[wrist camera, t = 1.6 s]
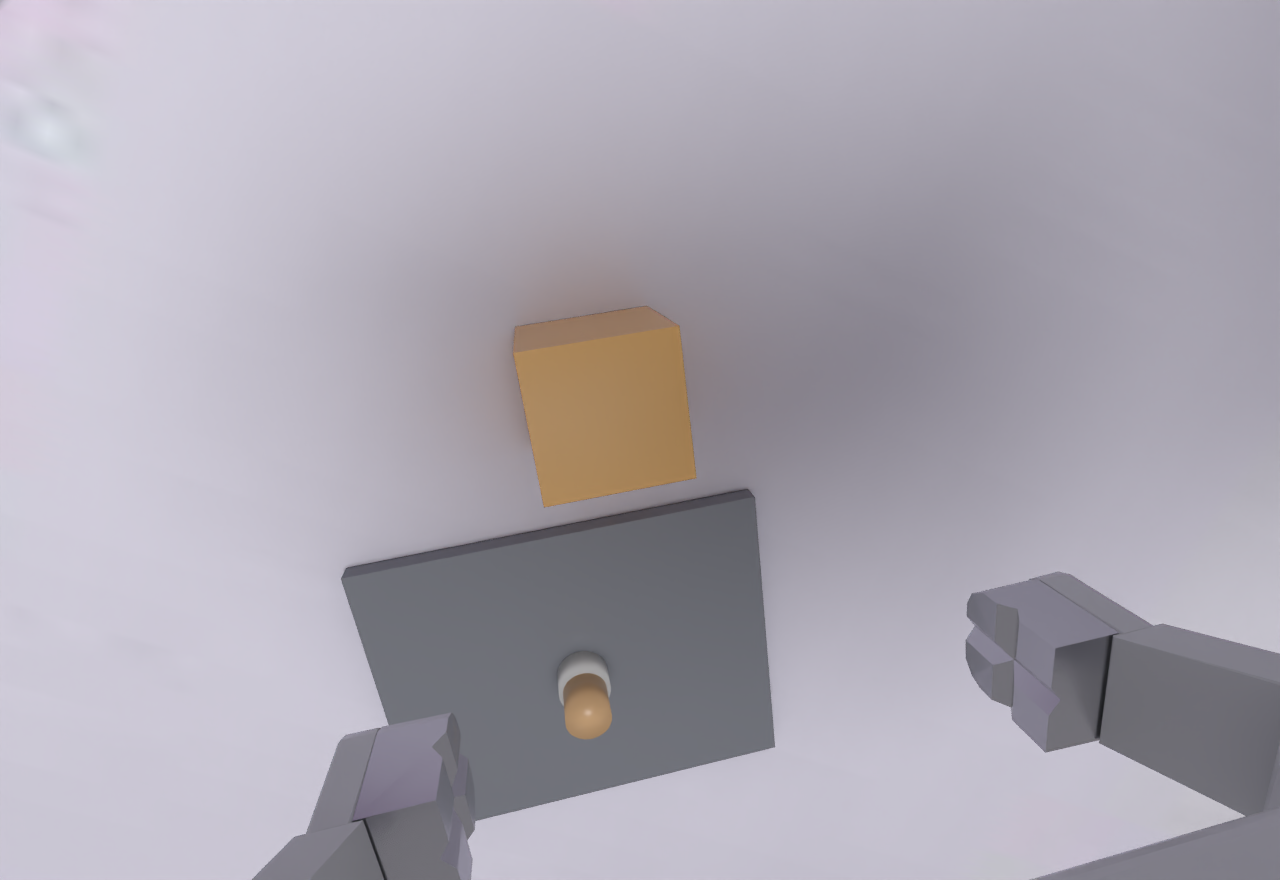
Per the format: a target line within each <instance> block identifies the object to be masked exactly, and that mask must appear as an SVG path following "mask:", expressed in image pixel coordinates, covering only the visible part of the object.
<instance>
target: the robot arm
mask: <svg viewBox="0 0 1280 880" xmlns="http://www.w3.org/2000/svg"><path fill="white" fill-rule="evenodd" d="M967 617H968V618H969V619H970V621H971V622H972V623H973V624H974V625H975V627H974V628H973V630H972V631H971V633H970V634H969V636H968V637H967V639H966V660H967V663H968V666H969V668H970V671H971V674H972V676H973V678H974V679H975V681H976V682H977V684H978V685H979V687H980V688H981V689H982V690H983V691H984V692H985V693H986V694H987V695H988V696H989V698H990V699H992V700H994V701H997V702H999V703H1002V704H1004V705H1007V706H1009V707H1011V714H1012V720H1013V721H1014V722H1015V723H1016V724H1017V725H1018V726H1019V727H1020V728H1021V729H1022V730H1023V731H1024V732H1025V733H1026V734H1027V735H1028V736H1029V737H1030V738H1031V739H1032V740H1033V741H1034V742H1035V743H1036V744H1037V745H1038V746H1039V747H1040V748H1041V749H1042V750H1043V751H1044V752H1045V753H1046V752H1050V751H1054V750H1059V749H1063V748H1067V747H1071V746H1076V745H1080V744H1084V743H1089V742H1093V741H1097V740H1100V741H1099V743H1100V744H1102V745H1104V746H1106V747H1108V748H1110V749H1112V750H1114V751H1116V752H1118V753H1120V754H1122V755H1124V756H1126V757H1128V758H1130V759H1132V760H1134V761H1136V762H1138V763H1140V764H1142V765H1144V766H1146V767H1148V768H1150V769H1152V770H1154V771H1156V772H1159V773H1161V774H1163V775H1165V776H1167V777H1169V778H1171V779H1173V780H1175V781H1177V782H1179V783H1181V784H1183V785H1185V786H1187V787H1189V788H1191V789H1193V790H1195V791H1197V792H1199V793H1201V794H1203V795H1205V796H1207V797H1209V798H1211V799H1213V800H1215V801H1217V802H1219V803H1221V804H1223V805H1225V806H1227V807H1229V808H1231V809H1233V810H1235V811H1237V812H1239V813H1241V814H1243V815H1245V816H1246V817H1242V818H1239V819H1235V820H1232V821H1229V822H1225V823H1222V824H1218V825H1215V826H1211V827H1208V828H1205V829H1201V830H1198V831H1194V832H1191V833H1188V834H1184V835H1181V836H1177V837H1174V838H1171V839H1167V840H1164V841H1160V842H1157V843H1154V844H1150V845H1147V846H1143V847H1140V848H1137V849H1133V850H1130V851H1126V852H1123V853H1120V854H1116V855H1113V856H1109V857H1106V858H1103V859H1099V860H1096V861H1092V862H1089V863H1086V864H1082V865H1079V866H1075V867H1072V868H1069V869H1065V870H1062V871H1058V872H1055V873H1052V874H1048V875H1045V876H1041V877H1038V878H1035V879H1031V880H1280V654H1279V653H1275V652H1271V651H1267V650H1263V649H1259V648H1255V647H1251V646H1248V645H1244V644H1240V643H1236V642H1232V641H1228V640H1224V639H1220V638H1216V637H1212V636H1209V635H1205V634H1201V633H1197V632H1193V631H1189V630H1185V629H1181V628H1177V627H1173V626H1170V625H1166V624H1159V625H1155V626H1153V625H1151V624H1150V623H1148V622H1146V621H1145V620H1143V619H1142V618H1140V617H1138V616H1137V615H1135V614H1133V613H1132V612H1130V611H1129V610H1127V609H1125V608H1124V607H1122V606H1120V605H1119V604H1117V603H1116V602H1114V601H1112V600H1111V599H1109V598H1107V597H1106V596H1104V595H1103V594H1101V593H1099V592H1098V591H1096V590H1094V589H1093V588H1091V587H1090V586H1088V585H1086V584H1085V583H1083V582H1081V581H1080V580H1078V579H1077V578H1075V577H1073V576H1072V575H1070V574H1066V573H1062V572H1055V573H1051V574H1047V575H1043V576H1040V577H1036V578H1032V579H1029V580H1028V581H1023V582H1019V583H1015V584H1011V585H1006V586H1002V587H998V588H994V589H989V590H985V591H981V592H977V593H972V595H971V597H970V599H969V601H968V603H967ZM460 742H461V732H460V729H459V726H458V722H457V719H456V716H455V715H454V714H453V713H446V714H442V715H437V716H432V717H427V718H422V719H417V720H412V721H408V722H403V723H398V724H393V725H388V726H383V727H382V728H376V729H371V730H366V731H362V732H357V733H352V734H348V735H345V736H344V737H343V738H342V739H341V740H340V742H339V743H338V745H337V748H336V751H335V754H334V757H333V759H332V762H331V765H330V768H329V771H328V773H327V776H326V779H325V782H324V785H323V787H322V790H321V793H320V796H319V799H318V801H317V804H316V807H315V810H314V812H313V815H312V818H311V821H310V824H309V826H308V829H307V832H306V834H304V835H300V836H296V837H294V838H293V839H292V840H291V841H290V842H289V843H288V844H287V845H286V846H285V847H284V848H283V849H282V850H281V851H280V852H279V853H278V854H277V855H276V856H275V857H274V858H273V859H272V860H271V861H270V862H269V863H268V864H267V865H266V866H265V867H264V868H263V869H262V870H261V871H260V872H259V873H258V874H257V875H256V876H255V877H254V878H253V879H252V880H471V872H472V856H471V852H470V849H469V845H468V842H467V840H468V838H469V837H470V836H471V834H472V833H473V831H474V830H475V815H476V807H475V789H474V783H473V777H472V772H471V768H470V764H469V760H468V758H466V757H465V756H463V755H462V754H460V753H459V752H460Z"/></svg>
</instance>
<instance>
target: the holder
mask: <svg viewBox="0 0 1280 880" xmlns="http://www.w3.org/2000/svg"><path fill="white" fill-rule="evenodd" d="M341 580H342V584H343V587H344V590H345V593H346V596H347V599H348V602H349V605H350V608H351V611H352V614H353V617H354V620H355V623H356V626H357V629H358V632H359V635H360V638H361V641H362V644H363V648H364V651H365V654H366V657H367V660H368V663H369V666H370V669H371V672H372V675H373V678H374V681H375V684H376V687H377V690H378V693H379V696H380V699H381V702H382V705H383V708H384V712H385V715H386V718H387V721H388V724H389V725H393V724H398V723H403V722H408V721H412V720H417V719H422V718H427V717H432V716H437V715H442V714H446V713H453V714H454V715H455V716H456V719H457V722H458V726H459V729H460V732H461V742H460V752H459V753H460V754H462V755H463V756H465V757H466V758H468V760H469V764H470V768H471V772H472V777H473V783H474V789H475V807H476V815H475V821H477V820H481V819H485V818H489V817H493V816H497V815H501V814H506V813H510V812H514V811H518V810H522V809H526V808H530V807H534V806H538V805H542V804H546V803H550V802H554V801H558V800H562V799H566V798H570V797H574V796H579V795H583V794H587V793H591V792H595V791H599V790H603V789H607V788H611V787H615V786H619V785H623V784H627V783H631V782H635V781H639V780H643V779H647V778H652V777H656V776H660V775H664V774H668V773H672V772H676V771H680V770H684V769H688V768H692V767H696V766H700V765H704V764H708V763H712V762H716V761H720V760H725V759H729V758H733V757H737V756H741V755H745V754H749V753H753V752H757V751H761V750H765V749H769V748H773V747H775V741H774V729H773V717H772V704H771V692H770V680H769V667H768V655H767V643H766V630H765V618H764V606H763V593H762V581H761V569H760V556H759V544H758V532H757V519H756V507H755V497H754V496H753V494H752V493H751V492H750V491H749V490H743V491H737V492H732V493H727V494H722V495H717V496H712V497H707V498H702V499H697V500H692V501H687V502H681V503H676V504H671V505H666V506H661V507H656V508H651V509H646V510H641V511H636V512H630V513H625V514H620V515H615V516H610V517H605V518H600V519H595V520H590V521H585V522H580V523H574V524H569V525H564V526H559V527H554V528H549V529H544V530H539V531H534V532H529V533H524V534H518V535H513V536H508V537H503V538H498V539H493V540H488V541H483V542H478V543H473V544H467V545H462V546H457V547H452V548H447V549H442V550H437V551H432V552H427V553H422V554H417V555H411V556H406V557H401V558H396V559H391V560H386V561H381V562H376V563H371V564H366V565H361V566H355V567H350V568H346V570H345V572H344V574H343V576H342V578H341Z"/></svg>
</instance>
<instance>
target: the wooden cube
mask: <svg viewBox="0 0 1280 880" xmlns="http://www.w3.org/2000/svg"><path fill="white" fill-rule="evenodd" d="M513 355H514V360H515V365H516V370H517V375H518V380H519V385H520V390H521V395H522V400H523V405H524V410H525V415H526V420H527V425H528V430H529V435H530V440H531V445H532V450H533V455H534V460H535V465H536V470H537V475H538V480H539V485H540V490H541V495H542V500H543V505H544V507H549V506H554V505H559V504H565V503H570V502H575V501H580V500H585V499H591V498H596V497H601V496H606V495H611V494H617V493H622V492H627V491H632V490H637V489H643V488H648V487H653V486H658V485H663V484H669V483H674V482H679V481H684V480H689V479H695V478H696V469H695V460H694V451H693V443H692V434H691V425H690V416H689V407H688V398H687V389H686V380H685V372H684V363H683V354H682V345H681V336H680V327H679V325H677V324H676V323H674V322H672V321H671V320H669V319H668V318H666V317H664V316H663V315H661V314H659V313H658V312H656V311H655V310H653V309H651V308H650V307H648V306H643V307H637V308H630V309H624V310H618V311H611V312H605V313H599V314H592V315H586V316H580V317H573V318H567V319H561V320H555V321H548V322H542V323H536V324H529V325H523V326H517V327H515V336H514V348H513Z"/></svg>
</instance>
